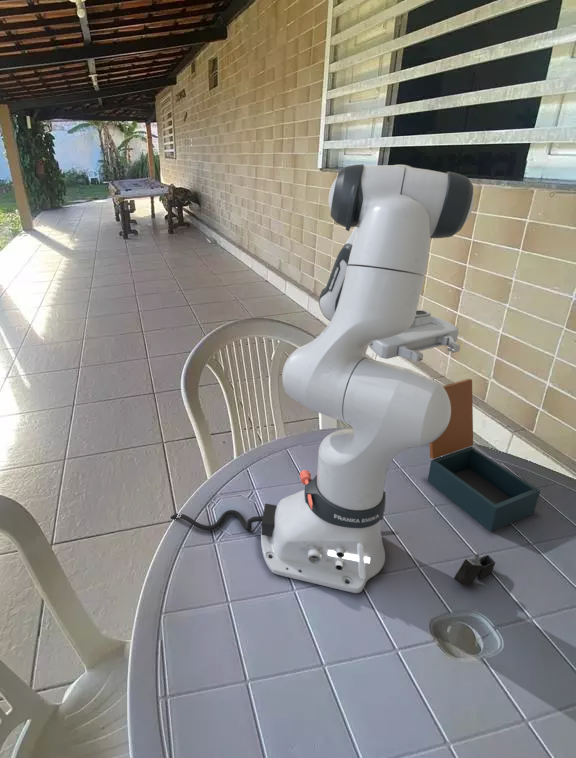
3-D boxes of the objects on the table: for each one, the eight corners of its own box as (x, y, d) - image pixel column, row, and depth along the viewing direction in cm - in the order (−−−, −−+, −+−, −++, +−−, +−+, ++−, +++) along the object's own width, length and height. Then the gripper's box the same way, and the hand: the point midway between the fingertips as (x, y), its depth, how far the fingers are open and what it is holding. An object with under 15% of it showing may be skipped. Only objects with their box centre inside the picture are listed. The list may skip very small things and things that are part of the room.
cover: (472, 379, 91) (468, 378, 92) (430, 391, 88) (427, 390, 89) (473, 445, 94) (470, 443, 95) (432, 459, 91) (429, 457, 91)
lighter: (471, 576, 75) (486, 552, 74) (483, 586, 73) (498, 561, 72) (449, 575, 71) (465, 549, 70) (461, 585, 69) (477, 558, 68)
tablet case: (533, 513, 84) (540, 490, 81) (490, 531, 80) (496, 508, 78) (466, 467, 97) (471, 446, 94) (427, 481, 93) (431, 460, 91)
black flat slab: (519, 506, 84) (520, 503, 84) (489, 519, 82) (490, 516, 82) (468, 471, 94) (469, 468, 94) (440, 481, 92) (440, 478, 92)
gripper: (359, 325, 101) (398, 351, 88) (432, 308, 105) (480, 331, 92) (357, 348, 103) (395, 376, 91) (428, 331, 107) (474, 356, 95)
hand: (438, 353), depth 92 cm, fingers open, 8 cm apart
